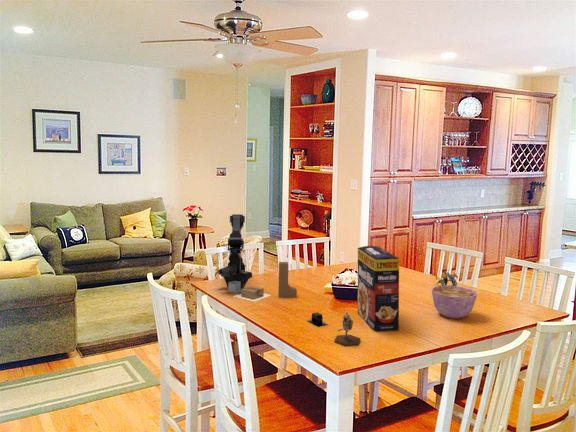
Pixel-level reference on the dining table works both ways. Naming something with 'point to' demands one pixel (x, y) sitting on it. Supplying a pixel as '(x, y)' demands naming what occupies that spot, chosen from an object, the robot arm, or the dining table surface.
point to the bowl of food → (453, 300)
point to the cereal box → (378, 288)
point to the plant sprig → (447, 279)
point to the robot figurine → (346, 339)
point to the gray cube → (234, 286)
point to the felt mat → (251, 299)
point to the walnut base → (252, 292)
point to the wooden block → (285, 283)
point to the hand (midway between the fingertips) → (235, 289)
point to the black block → (317, 320)
